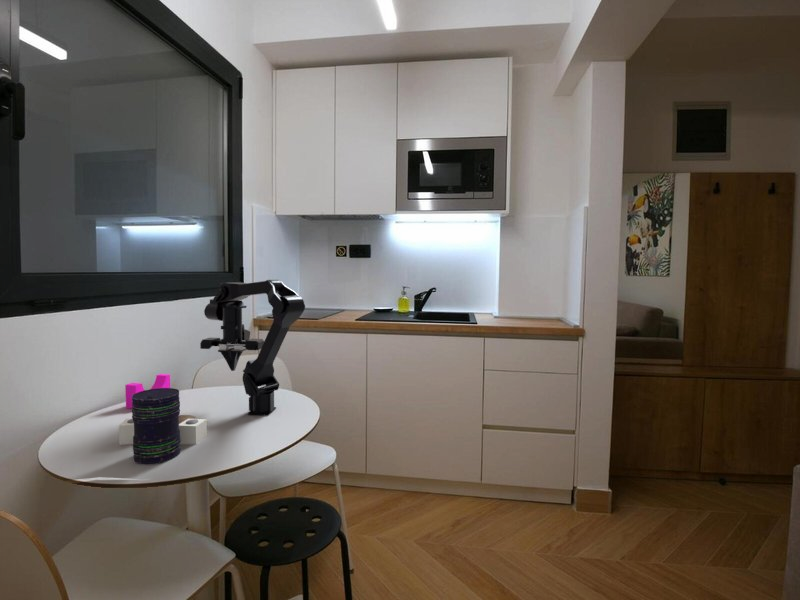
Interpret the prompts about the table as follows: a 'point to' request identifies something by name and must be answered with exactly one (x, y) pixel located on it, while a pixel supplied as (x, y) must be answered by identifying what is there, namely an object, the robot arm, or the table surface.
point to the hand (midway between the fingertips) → (233, 370)
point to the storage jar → (156, 425)
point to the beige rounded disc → (185, 418)
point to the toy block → (133, 388)
